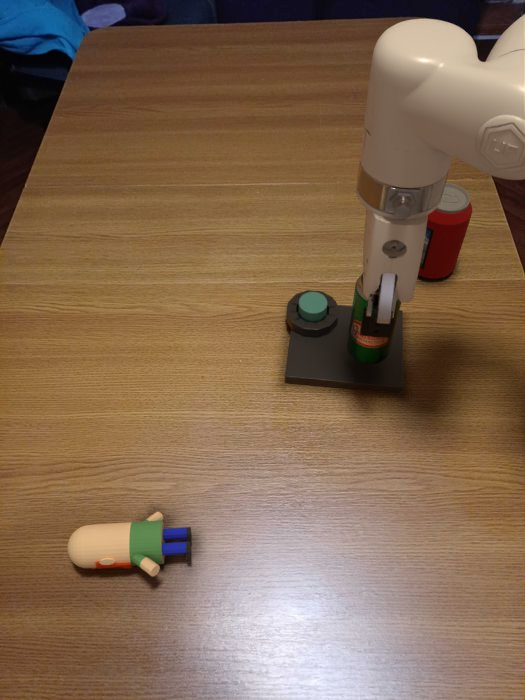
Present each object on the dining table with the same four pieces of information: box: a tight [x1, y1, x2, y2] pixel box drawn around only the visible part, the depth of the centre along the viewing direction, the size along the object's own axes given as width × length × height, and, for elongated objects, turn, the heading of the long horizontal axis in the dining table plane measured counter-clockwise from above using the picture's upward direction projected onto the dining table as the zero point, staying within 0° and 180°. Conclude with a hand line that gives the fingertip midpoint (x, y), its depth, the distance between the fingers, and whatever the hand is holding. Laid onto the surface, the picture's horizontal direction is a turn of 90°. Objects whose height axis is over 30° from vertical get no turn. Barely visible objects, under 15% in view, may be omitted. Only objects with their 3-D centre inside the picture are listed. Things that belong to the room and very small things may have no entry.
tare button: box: [298, 292, 328, 322], centre depth 77 cm, size 4×4×2 cm
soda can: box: [347, 272, 402, 364], centre depth 68 cm, size 5×5×12 cm
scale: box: [284, 289, 404, 395], centre depth 77 cm, size 15×13×3 cm
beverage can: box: [418, 182, 473, 279], centre depth 81 cm, size 7×7×12 cm
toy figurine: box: [66, 511, 193, 577], centre depth 61 cm, size 8×4×12 cm
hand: (375, 312), depth 68 cm, fingers closed on soda can, 5 cm apart
